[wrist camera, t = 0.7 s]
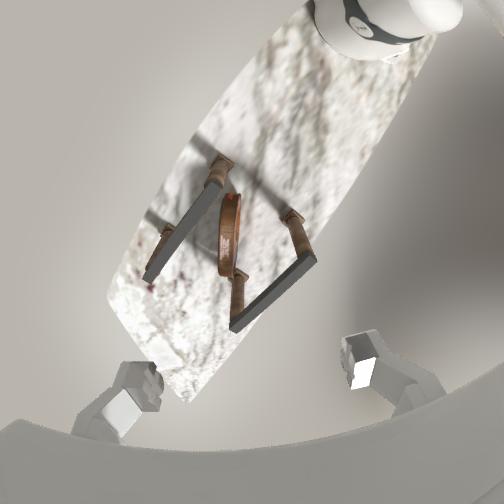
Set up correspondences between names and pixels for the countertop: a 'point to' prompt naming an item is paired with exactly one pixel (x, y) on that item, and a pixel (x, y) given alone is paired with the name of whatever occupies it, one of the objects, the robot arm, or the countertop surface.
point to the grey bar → (183, 229)
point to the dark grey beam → (273, 291)
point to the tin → (228, 234)
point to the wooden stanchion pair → (237, 293)
